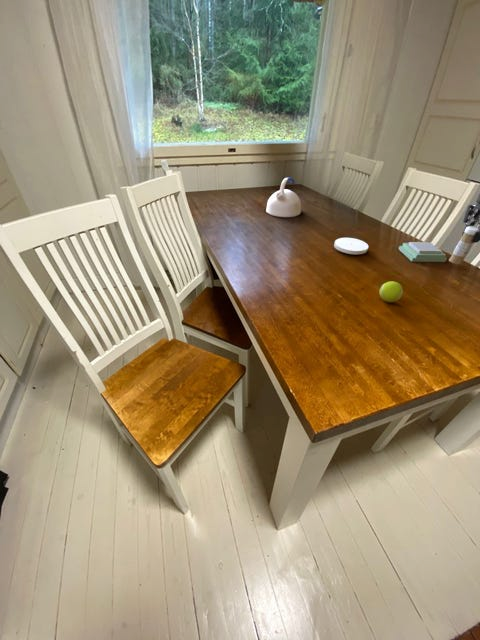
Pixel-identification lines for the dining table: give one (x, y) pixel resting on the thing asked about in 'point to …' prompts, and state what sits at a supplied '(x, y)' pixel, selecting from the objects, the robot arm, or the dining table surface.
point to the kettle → (284, 202)
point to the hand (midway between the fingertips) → (469, 239)
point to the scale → (421, 255)
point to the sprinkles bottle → (463, 245)
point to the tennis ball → (391, 291)
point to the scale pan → (424, 248)
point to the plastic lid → (351, 246)
